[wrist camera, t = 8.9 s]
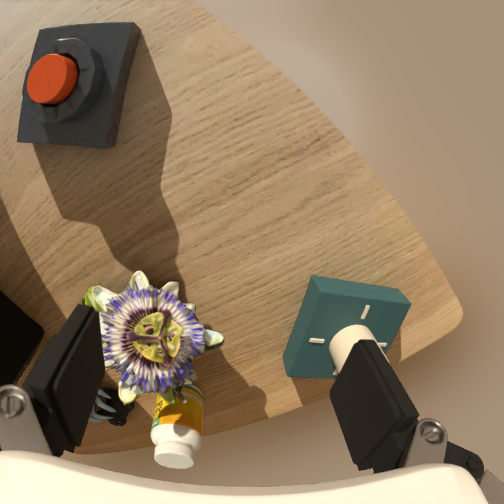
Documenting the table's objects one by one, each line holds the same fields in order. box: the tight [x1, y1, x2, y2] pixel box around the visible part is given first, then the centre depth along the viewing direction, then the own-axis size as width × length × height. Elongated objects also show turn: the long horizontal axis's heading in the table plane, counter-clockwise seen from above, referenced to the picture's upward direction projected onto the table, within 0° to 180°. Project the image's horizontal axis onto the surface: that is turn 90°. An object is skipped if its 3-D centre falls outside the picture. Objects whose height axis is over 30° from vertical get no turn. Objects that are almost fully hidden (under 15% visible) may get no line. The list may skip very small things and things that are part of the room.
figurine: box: [88, 388, 134, 426], centre depth 29 cm, size 10×12×8 cm
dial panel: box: [283, 275, 411, 378], centre depth 28 cm, size 10×10×3 cm
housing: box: [17, 22, 141, 149], centre depth 17 cm, size 10×9×4 cm
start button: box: [27, 54, 78, 104], centre depth 15 cm, size 4×4×2 cm
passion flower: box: [80, 271, 224, 405], centre depth 24 cm, size 11×11×12 cm
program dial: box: [329, 325, 390, 374], centre depth 25 cm, size 4×4×5 cm
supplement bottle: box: [151, 385, 203, 469], centre depth 28 cm, size 5×5×10 cm
